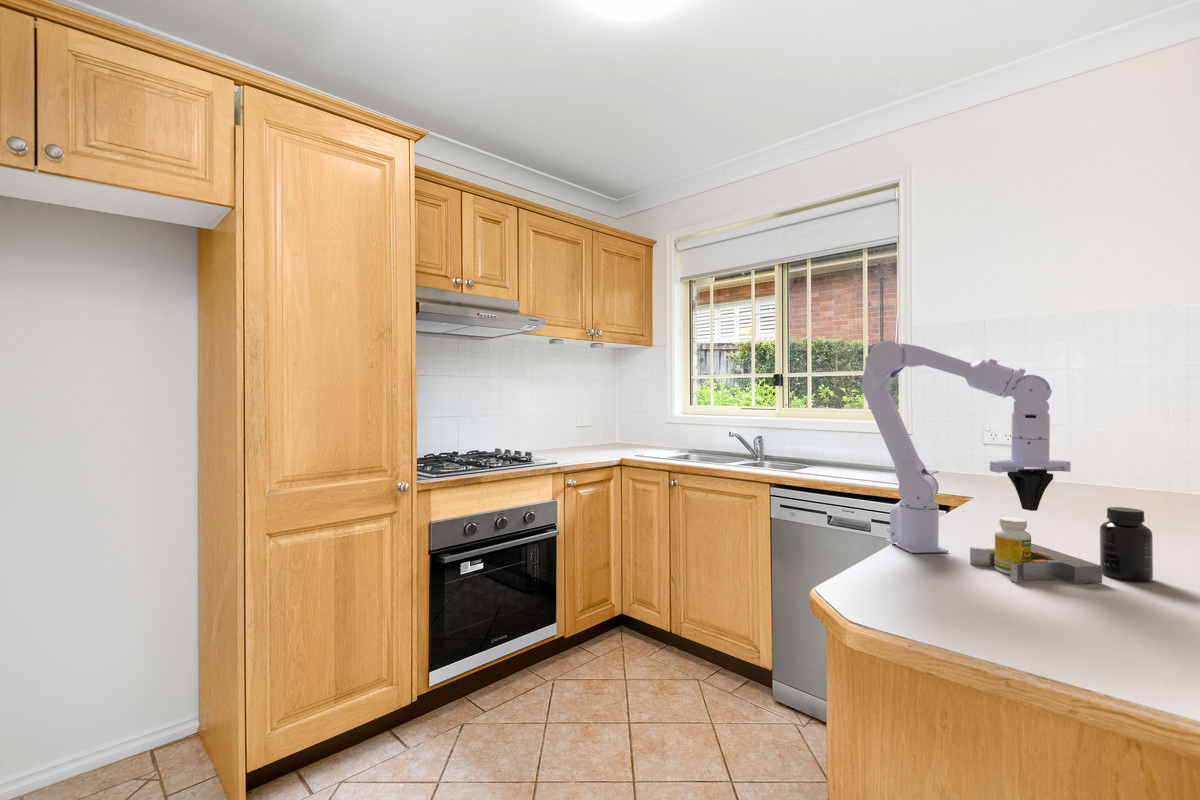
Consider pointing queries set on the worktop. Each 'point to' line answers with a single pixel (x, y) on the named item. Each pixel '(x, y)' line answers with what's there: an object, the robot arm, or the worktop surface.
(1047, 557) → the grey pronged bracket
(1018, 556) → the supplement bottle
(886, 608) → the worktop surface
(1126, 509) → the supplement bottle
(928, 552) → the robot arm
